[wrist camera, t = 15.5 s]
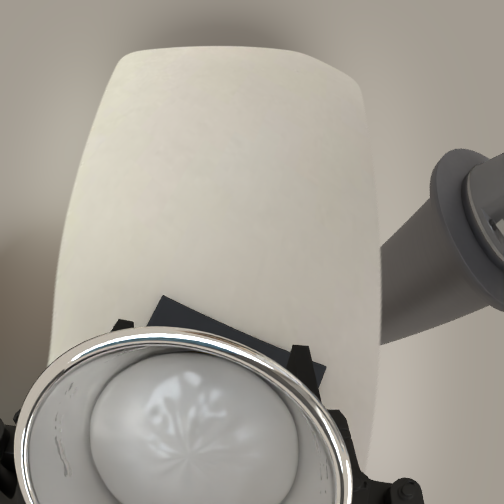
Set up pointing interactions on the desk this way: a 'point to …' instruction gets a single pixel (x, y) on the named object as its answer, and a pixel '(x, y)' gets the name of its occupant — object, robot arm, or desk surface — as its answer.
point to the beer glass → (176, 426)
